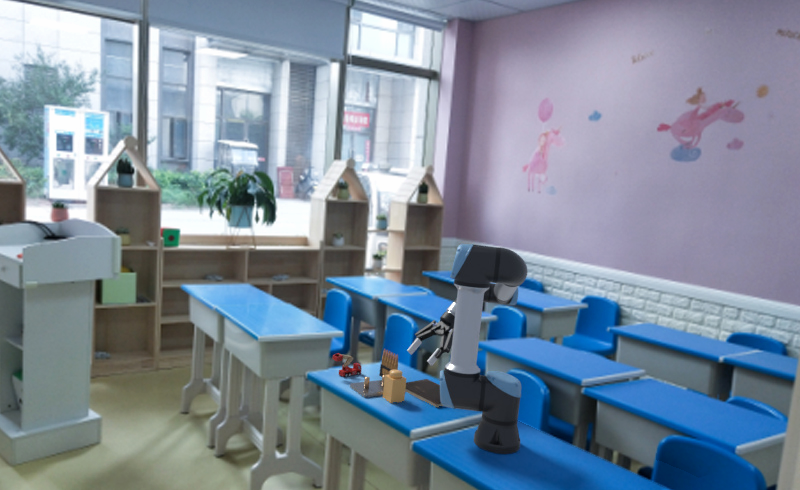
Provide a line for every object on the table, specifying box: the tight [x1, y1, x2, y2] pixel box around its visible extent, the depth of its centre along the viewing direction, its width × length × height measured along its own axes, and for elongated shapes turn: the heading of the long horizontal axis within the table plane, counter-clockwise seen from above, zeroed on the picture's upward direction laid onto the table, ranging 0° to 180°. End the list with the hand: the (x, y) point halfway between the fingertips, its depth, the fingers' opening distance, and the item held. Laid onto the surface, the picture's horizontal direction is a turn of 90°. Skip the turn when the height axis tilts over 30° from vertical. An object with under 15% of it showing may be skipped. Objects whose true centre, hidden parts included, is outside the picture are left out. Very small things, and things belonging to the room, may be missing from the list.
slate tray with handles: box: [349, 375, 385, 398], centre depth 240 cm, size 12×16×6 cm
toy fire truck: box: [331, 352, 363, 378], centre depth 255 cm, size 3×14×10 cm, turn 130°
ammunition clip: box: [379, 348, 399, 378], centre depth 255 cm, size 11×2×12 cm, turn 37°
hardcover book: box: [405, 378, 444, 408], centre depth 242 cm, size 16×23×2 cm
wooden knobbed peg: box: [382, 369, 407, 404], centre depth 232 cm, size 6×6×11 cm
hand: (419, 358), depth 236 cm, fingers open, 13 cm apart
